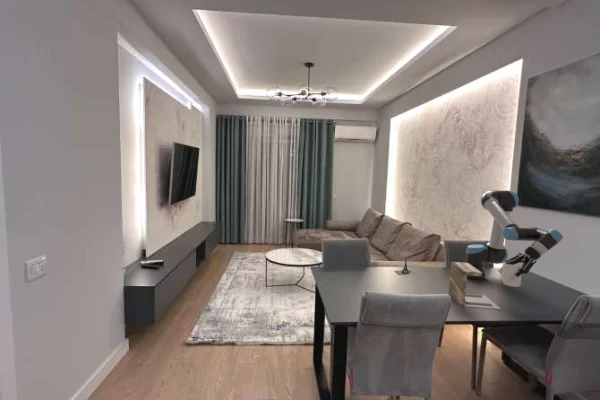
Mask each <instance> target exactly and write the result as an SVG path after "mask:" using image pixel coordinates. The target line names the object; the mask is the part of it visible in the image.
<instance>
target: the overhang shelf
mask: <svg viewBox="0 0 600 400" xmlns="http://www.w3.org/2000/svg"><path fill="white" fill-rule="evenodd" d="M467 275H470V276H482V272H480V271H479V270H478V269H476V268H475V267H473V266H472V265H470V264H469V263H466V262H460V261H458V262H456V261H451V262H450V272H449V285H448V286H449V287H448V294H449V296H450V297H452V298H453V300H454V301H455V302H456V303H457V304H458V306H459V307H463V308H464V307H466V306H465V294H466V292H467V291H466V288H467V279H468V278H467Z"/></svg>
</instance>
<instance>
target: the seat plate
mask: <svg viewBox="0 0 600 400" xmlns="http://www.w3.org/2000/svg"><path fill="white" fill-rule="evenodd" d="M464 307H467V308H477V309H478V308H479V309H492V310H501V307H500V306H498V305H497V303H495V302H494V301H493V300H491V299H490V298H489V297H487V296H486V295H485V294H476V293H465V306H464Z"/></svg>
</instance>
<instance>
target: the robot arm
mask: <svg viewBox="0 0 600 400" xmlns="http://www.w3.org/2000/svg"><path fill="white" fill-rule="evenodd" d="M519 203H520V201H519V196H518V194H517V193H516V192H515V191H513V190H497V189H496V190H493V189H492V190H487V191H486V192H484V193H483V194H482V196H481V198H480V204H481V206H482V207H483V209H484V210H486V211H488V212H489V214H490V215H491V216H492V217H493V222H492V228H491V234H490V238H489V242H487V243H486V246H485V245H484V244H469V245H468V246H467V247H466V249H465V250H466V251H465V263H469V264H470V265H472V266H473V267H475V268H476V269H478V270H479V271H480V272H482V276H470V275H467V278H466V279H472V280H479V281H480V280H481V281H482V280H486V272H485V268H484V264H499V265H500V264H504V263H505V264H511V265H517V264H521V263H522V264H521V266H520V267H521V268H520V269H519V270H520V271H519V270H517V271H516V272H514V273H513V274H512V275H511V276H509V278H510V279H511V280H512V281H513V280H515V279H516V278H517V277H519V276H520V275H521V274H522V275H523V274H528V273H529V272H530V270H531V269H532V267H533V266H534V265H535V264H536V263H537V260H539V259H540V258H541V256H543V255H545V254H546V253H547V252H549V251H550V250H552V249H553V248H554V247H555V246H556V245H557V244H559V243H560V242H561V241H562V240H563V239H564V236H563V234H562V233H561V232H560V231H558V230H557V229H555V228H551V229H549V230H544V229H541V228H539V227H535V226H530V227H519V225H518V224H516V222H515V221H514V220H513V219H512V218H511V217H510V214H511V213H512V212H513V211H514V209H515V208H517V207H518V206H519ZM505 239H506V241H507V240H508V241H513V242H514V241H524V242H528V241H529V242H533V243H532V244H530V246H527V247H526V248H525V249H524V253H522V252H519V253H517V254H516V255H513V256H512V257H510V258H508V257H509V253H508V250H507V249H506V246H505V245H504V244H505ZM503 267H504V265H502V266H501V267H500V268H498V269H497V272H498V273H499V274H500V275H502V269H503ZM503 272H504V270H503ZM522 275H521V276H522Z"/></svg>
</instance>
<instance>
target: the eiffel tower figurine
mask: <svg viewBox="0 0 600 400" xmlns="http://www.w3.org/2000/svg"><path fill="white" fill-rule="evenodd" d="M407 258H408V257H407V256H406V257H405V263H404V267H403V269H400V270H394V271H393V272H394V273H395V274H398V275H399V276H400V275H401V276H403V274H404V275H411V273H412V272H413V270H411V269H408V267H407V266H408V265H407Z"/></svg>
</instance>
